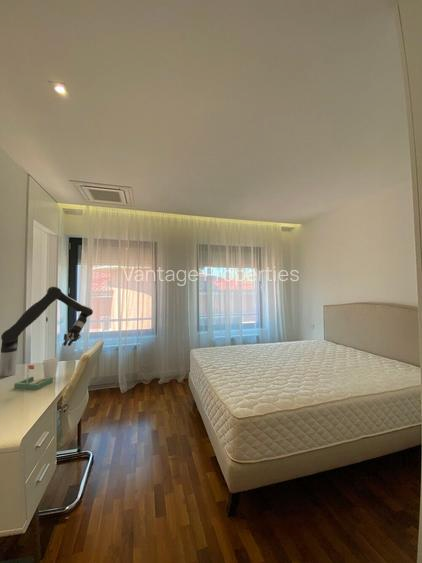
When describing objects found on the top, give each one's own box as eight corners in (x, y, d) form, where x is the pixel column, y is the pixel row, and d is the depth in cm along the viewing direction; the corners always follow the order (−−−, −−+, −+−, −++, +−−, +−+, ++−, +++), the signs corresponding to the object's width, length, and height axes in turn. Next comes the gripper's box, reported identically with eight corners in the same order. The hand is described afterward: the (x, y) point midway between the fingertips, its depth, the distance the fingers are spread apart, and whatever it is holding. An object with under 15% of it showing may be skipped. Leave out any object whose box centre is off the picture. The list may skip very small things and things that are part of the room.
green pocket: (14, 388, 147) (15, 364, 148) (31, 380, 159) (32, 358, 160) (37, 389, 145) (38, 365, 146) (52, 382, 158) (54, 359, 159)
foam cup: (60, 375, 170) (61, 358, 170) (51, 380, 161) (52, 361, 161) (49, 375, 171) (50, 357, 171) (38, 379, 162) (39, 361, 162)
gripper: (67, 324, 192) (55, 342, 180) (83, 325, 191) (72, 343, 178) (71, 329, 197) (60, 347, 185) (87, 330, 196) (76, 348, 183)
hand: (66, 345), depth 182 cm, fingers open, 3 cm apart
